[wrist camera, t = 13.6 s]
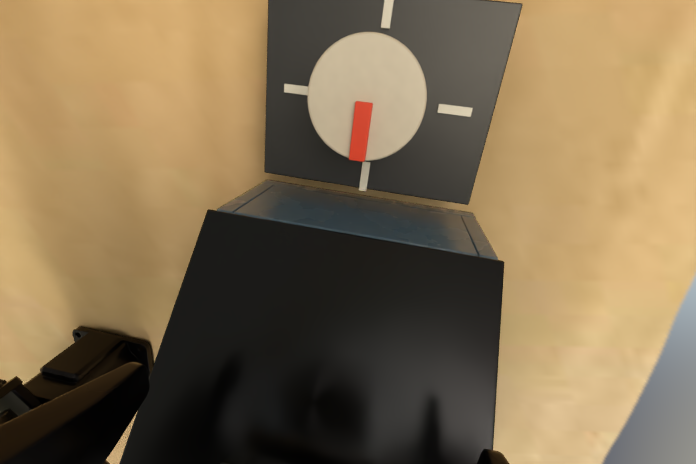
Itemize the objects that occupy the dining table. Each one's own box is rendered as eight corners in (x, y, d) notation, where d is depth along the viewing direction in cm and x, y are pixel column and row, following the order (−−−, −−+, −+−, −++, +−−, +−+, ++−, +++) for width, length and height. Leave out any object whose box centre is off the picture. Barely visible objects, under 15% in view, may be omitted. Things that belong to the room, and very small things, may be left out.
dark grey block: (429, 369, 23) (435, 450, 18) (262, 334, 25) (222, 399, 19) (473, 212, 19) (498, 258, 13) (266, 179, 20) (215, 208, 15)
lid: (471, 675, 10) (552, 932, 6) (96, 561, 11) (-72, 699, 7) (498, 264, 13) (560, 229, 9) (214, 214, 15) (152, 162, 10)
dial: (335, 42, 14) (308, 22, 10) (431, 53, 14) (440, 36, 10) (326, 140, 16) (300, 154, 12) (412, 152, 15) (414, 171, 11)
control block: (503, 17, 15) (525, -2, 12) (459, 190, 18) (468, 208, 16) (291, -4, 16) (267, -26, 13) (284, 163, 20) (262, 175, 17)
